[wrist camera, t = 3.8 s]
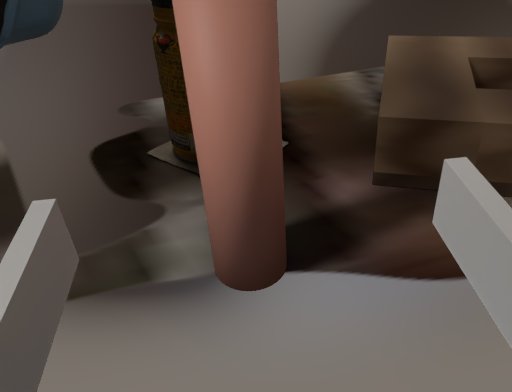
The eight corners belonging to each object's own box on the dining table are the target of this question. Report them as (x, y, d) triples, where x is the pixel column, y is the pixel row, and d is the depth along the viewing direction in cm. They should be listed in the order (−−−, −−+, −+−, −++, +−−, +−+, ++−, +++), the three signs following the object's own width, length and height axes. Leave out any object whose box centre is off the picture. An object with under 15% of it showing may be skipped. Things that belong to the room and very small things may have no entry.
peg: (204, 284, 25) (150, -17, 17) (227, 237, 28) (191, -39, 20) (277, 296, 24) (260, -19, 16) (293, 245, 27) (285, -41, 19)
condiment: (210, 119, 42) (190, -29, 35) (289, 144, 37) (284, -21, 30) (146, 155, 37) (110, -7, 30) (228, 189, 33) (206, 7, 26)
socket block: (372, 184, 32) (378, 116, 29) (383, 89, 44) (388, 35, 42) (691, 212, 27) (736, 136, 25) (604, 98, 40) (627, 38, 37)
